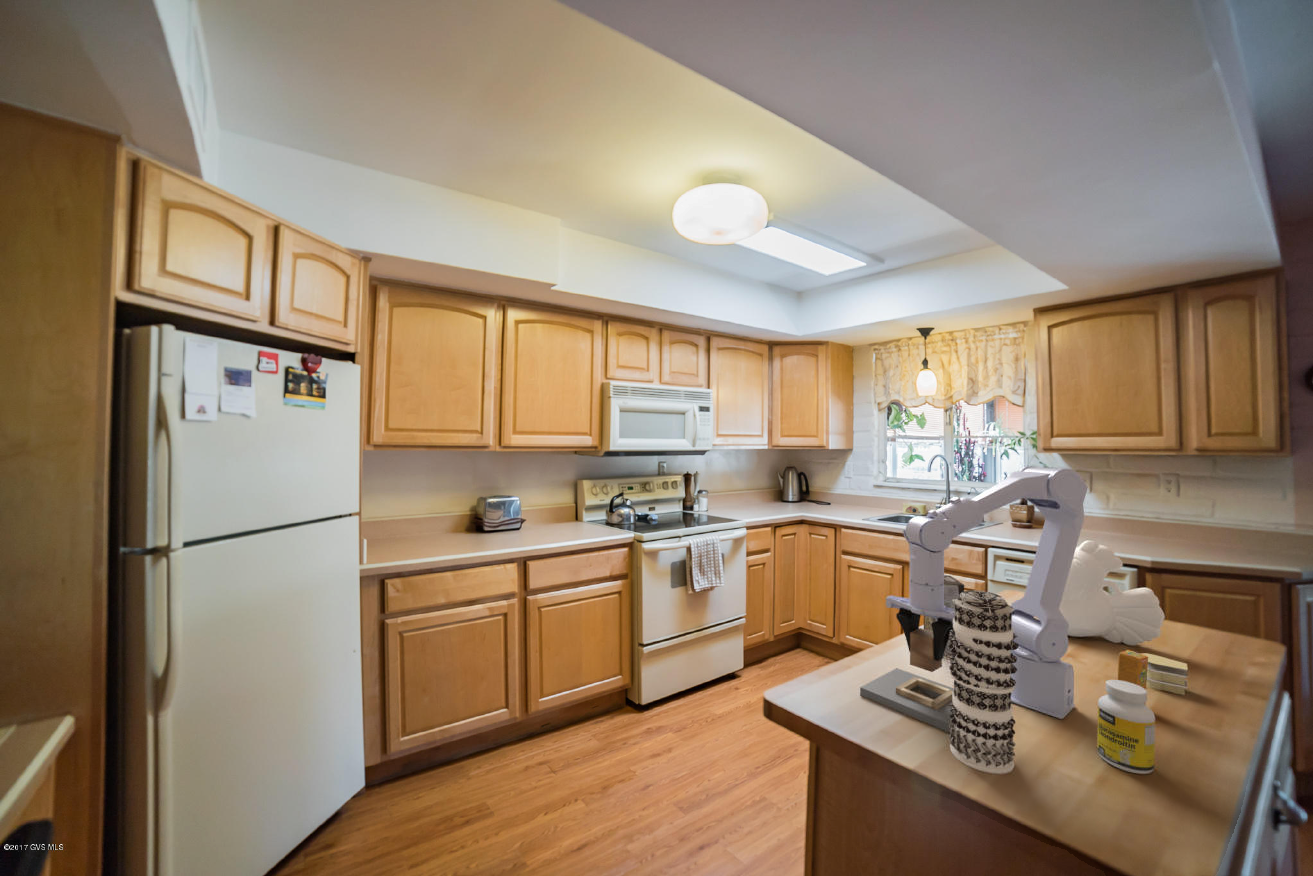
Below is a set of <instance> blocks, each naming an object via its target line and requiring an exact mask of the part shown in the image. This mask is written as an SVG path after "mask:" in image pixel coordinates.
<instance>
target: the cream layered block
mask: <svg viewBox="0 0 1313 876" xmlns="http://www.w3.org/2000/svg"><path fill="white" fill-rule="evenodd" d="M1141 654H1143V655H1145V656H1147V657H1148V667H1147V685H1146V687H1148V688H1150V689H1154V690H1158V691H1166V692H1170V693H1174V694H1178V695H1182V696H1186V695H1185V693H1186V692H1185V690H1186V689H1188V680H1186V679H1185V678H1189V677H1188V676H1189V675H1188V668H1189V667H1188V663H1186V662H1182V661H1178V660H1174V659H1172V658H1171V659H1170V658H1167V657H1163V656H1160V655H1156V654H1153V653H1152V654H1151V653H1149V652H1147V653H1144V652H1143V653H1141Z"/></svg>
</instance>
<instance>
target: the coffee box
mask: <svg viewBox="0 0 1313 876" xmlns="http://www.w3.org/2000/svg"><path fill="white" fill-rule="evenodd" d="M964 591H965V584H963V583H962V582H960V581H959V580H957V579H956V578H955V577H953V576H951V575H946V574H944V606H945V607H948V608H950V609H953V610H954V608H955V604H954V603H953V601H952V600H953V599H954V598H957V597H958V596H959V595H960V594H961V593H962V592H964ZM935 621H937V619H934V618H931V617H927V616H923V629H926V630H929V631H933V630H932V626H931V623H933V622H935ZM953 637H954V638H955V636H953ZM949 643H950V638H949V640H948V643H947V645H946V648H945V652H944V654H950V655H951V653H952V652H950V648H949V646H948V644H949ZM953 647H954V645H953Z"/></svg>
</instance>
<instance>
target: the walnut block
mask: <svg viewBox="0 0 1313 876" xmlns="http://www.w3.org/2000/svg"><path fill="white" fill-rule="evenodd" d="M909 665H911V666H913V667H916V668H919V669H921V670H925V671H927V672H930V673H933V672H936V671H937V670H939V669H940V668H942V667H943V659H942V660H940V661H936V660H934V636H933V631H929V630H926V629H924V628H923V627H919V629H917V630H915V631H912V632H910V652H909Z"/></svg>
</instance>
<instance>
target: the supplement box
mask: <svg viewBox="0 0 1313 876" xmlns="http://www.w3.org/2000/svg"><path fill="white" fill-rule="evenodd" d="M1147 667H1148V657H1147V656H1145V655H1143V654H1142V653H1140V652H1136V651H1133V650H1130V649H1125V651H1120V652H1119V653H1118V667H1117V680H1121V681H1126V682H1130V683H1133V684H1136V685H1138V686H1141V687H1142V688H1144V689H1145V690H1146V691H1147ZM1146 702H1147V701H1146ZM1146 702H1145V704H1146Z"/></svg>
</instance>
